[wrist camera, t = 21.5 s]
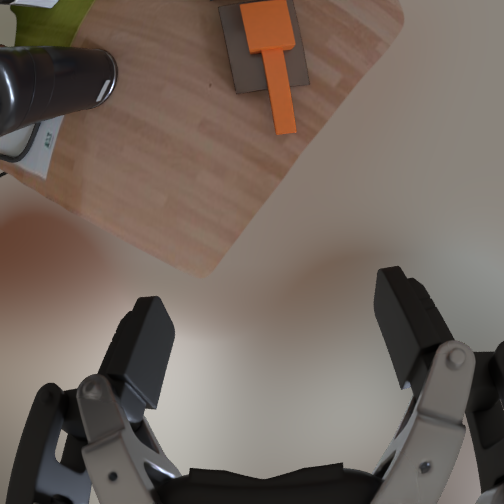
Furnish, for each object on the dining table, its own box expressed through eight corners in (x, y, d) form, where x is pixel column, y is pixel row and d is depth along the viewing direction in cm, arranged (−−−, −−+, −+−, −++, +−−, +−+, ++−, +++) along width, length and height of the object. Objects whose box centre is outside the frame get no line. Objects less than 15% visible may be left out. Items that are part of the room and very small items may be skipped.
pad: (237, 94, 32) (236, 94, 30) (220, 11, 25) (218, 6, 23) (307, 84, 31) (309, 84, 29) (290, 1, 24) (291, -3, 22)
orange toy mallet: (265, 133, 33) (265, 138, 29) (241, 13, 24) (239, 4, 21) (304, 128, 32) (309, 133, 29) (282, 8, 23) (285, -1, 20)
